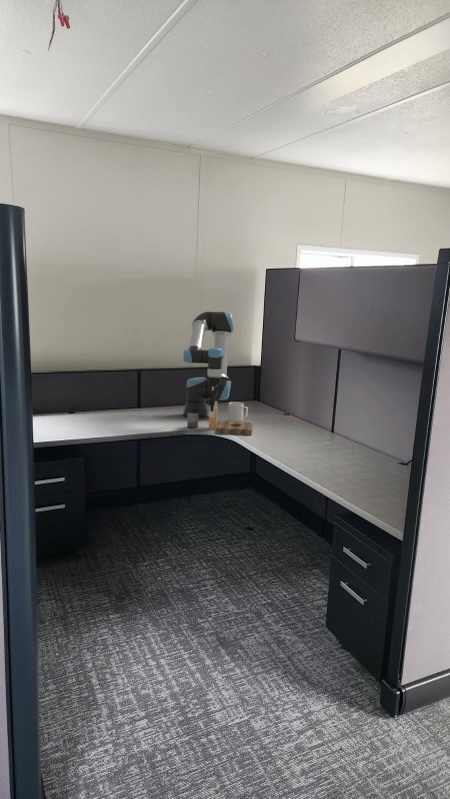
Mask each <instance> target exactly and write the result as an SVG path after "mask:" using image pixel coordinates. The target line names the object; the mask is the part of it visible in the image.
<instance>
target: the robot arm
mask: <svg viewBox="0 0 450 799" xmlns="http://www.w3.org/2000/svg"><path fill="white" fill-rule="evenodd" d="M191 329H192V331H191V337H190V340H189V346H188V348H186V349H184V350H183V353H182V354H183V355H182V356H183V362H184V363H186V364H187V363H188V364H207V378H206V377H205V376H199V377H193V378H189V379H187V381H186V386H185V387H186V398H185V399H186V400H185V401H186V403H185V405H184V409H183V411H182V416H184V417H186V418H187V414H188V413H198V419H199V418H206V417H208V418H209V417H215V407H217V408H218V402H219V401H222V400H223V401H225V400H227V399H229V396H230V391H231V386H232V385H231V384H232V381H231V380H230V378H229V376H228V374H227V371H228V349H229V337H230V336H231V335H232V333H233V332H234V322H233V313H232V312H227V311H204V312H201V313H200V314H198V315H197V316H196V317H195V318H194V319H193V321H192V324H191ZM207 331H209V332H211V334H212V335H213V337H214V339H213V341H214V342H213V347H209V348H208V349H203V346H204V339H205V336H206V332H207ZM206 400H209V402H208V403H207V404H208V405H206ZM207 406H209V408H210V412H208V409H207Z"/></svg>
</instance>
